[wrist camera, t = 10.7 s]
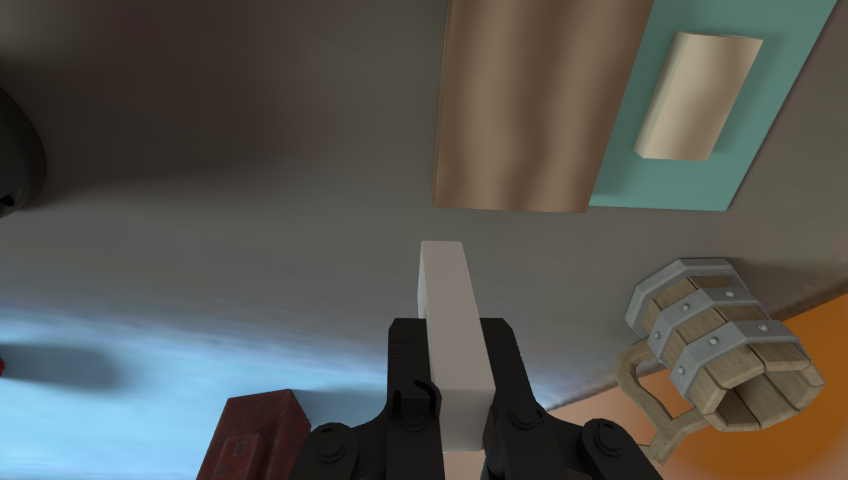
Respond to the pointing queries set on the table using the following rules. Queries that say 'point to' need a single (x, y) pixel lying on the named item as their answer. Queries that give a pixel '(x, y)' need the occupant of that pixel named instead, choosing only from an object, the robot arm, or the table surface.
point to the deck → (531, 100)
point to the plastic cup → (1, 367)
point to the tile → (695, 94)
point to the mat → (747, 121)
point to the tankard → (713, 355)
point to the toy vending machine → (256, 438)
